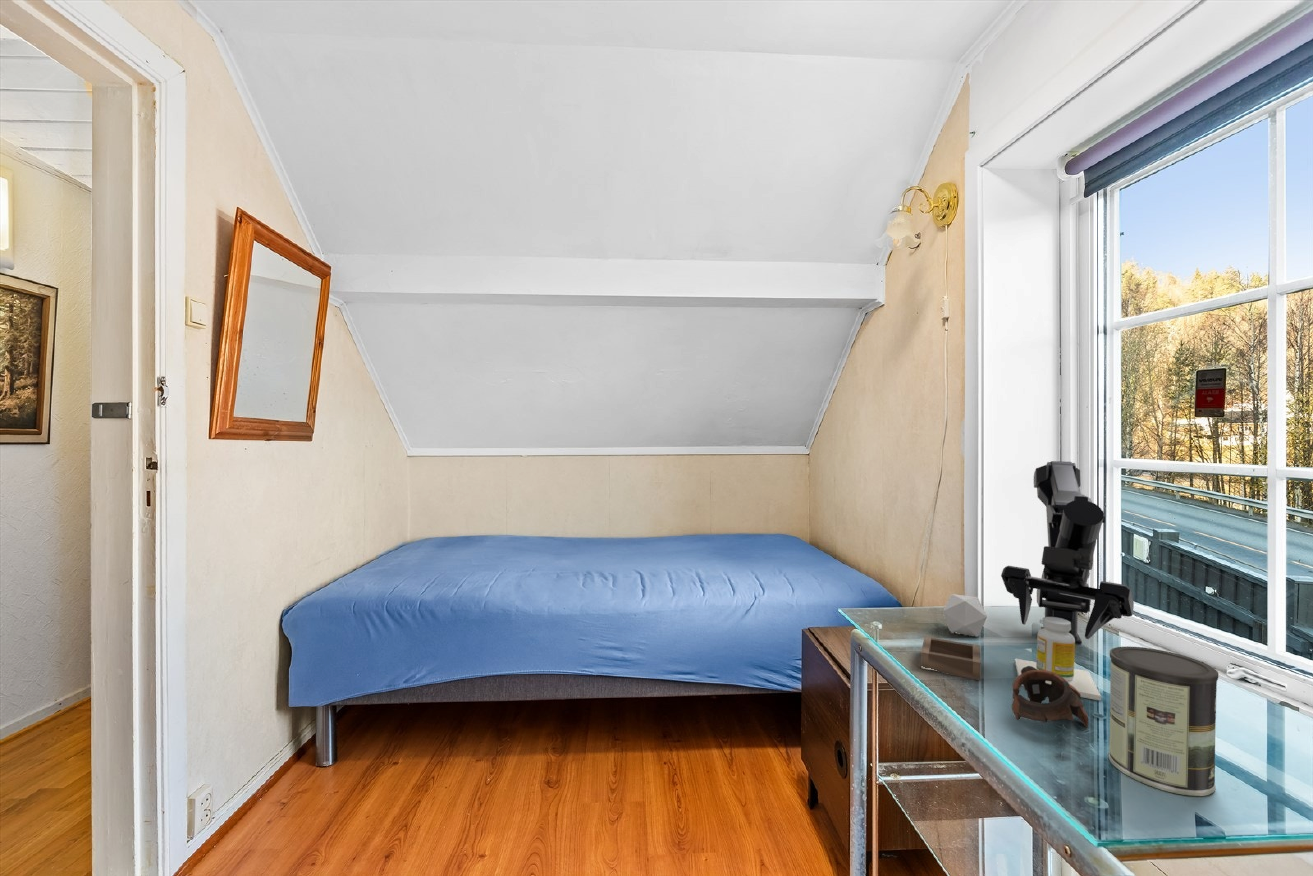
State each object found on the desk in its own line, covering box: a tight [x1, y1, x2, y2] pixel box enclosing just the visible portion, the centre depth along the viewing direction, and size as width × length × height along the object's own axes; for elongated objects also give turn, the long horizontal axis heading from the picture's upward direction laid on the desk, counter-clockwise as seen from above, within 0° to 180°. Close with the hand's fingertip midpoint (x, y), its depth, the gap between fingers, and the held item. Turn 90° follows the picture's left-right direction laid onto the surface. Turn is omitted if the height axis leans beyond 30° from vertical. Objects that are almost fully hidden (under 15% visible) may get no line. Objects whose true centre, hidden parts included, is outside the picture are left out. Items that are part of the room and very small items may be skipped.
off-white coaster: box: [1014, 658, 1102, 702], centre depth 99 cm, size 11×11×1 cm
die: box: [942, 593, 988, 638], centre depth 123 cm, size 8×9×10 cm
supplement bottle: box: [1035, 616, 1076, 681], centre depth 99 cm, size 5×5×10 cm
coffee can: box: [1108, 646, 1219, 797], centre depth 72 cm, size 10×10×14 cm
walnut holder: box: [920, 635, 982, 681], centre depth 105 cm, size 9×9×3 cm
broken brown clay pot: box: [1011, 666, 1089, 728], centre depth 86 cm, size 12×10×8 cm
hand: (1053, 630), depth 98 cm, fingers open, 9 cm apart
